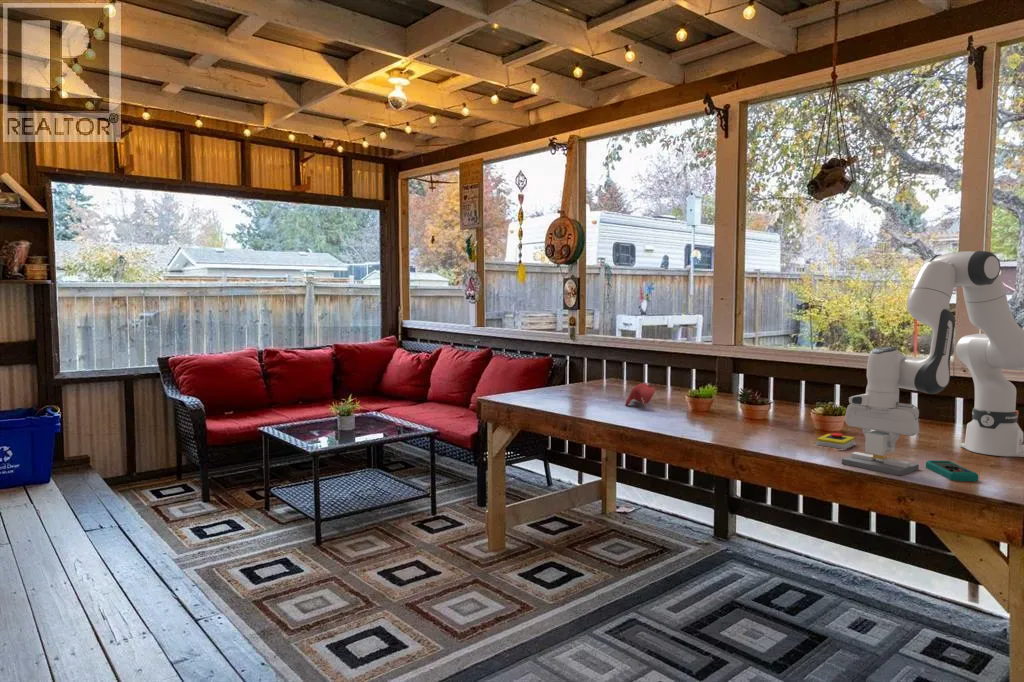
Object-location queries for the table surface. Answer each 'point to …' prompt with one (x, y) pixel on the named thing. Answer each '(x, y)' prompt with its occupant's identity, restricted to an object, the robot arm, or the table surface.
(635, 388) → the decorative bird sculpture
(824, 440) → the emergency button
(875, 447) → the block
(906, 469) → the rail board
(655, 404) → the table surface
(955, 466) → the digital multimeter
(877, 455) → the latch pin
